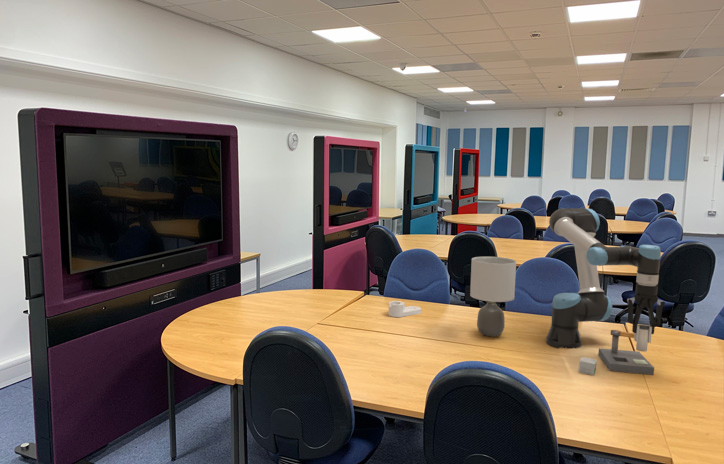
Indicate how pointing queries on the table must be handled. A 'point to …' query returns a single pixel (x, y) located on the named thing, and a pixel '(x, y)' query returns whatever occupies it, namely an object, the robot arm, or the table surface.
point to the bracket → (402, 309)
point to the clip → (622, 333)
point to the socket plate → (625, 360)
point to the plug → (642, 338)
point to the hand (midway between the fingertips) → (642, 341)
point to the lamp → (492, 290)
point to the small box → (587, 366)
